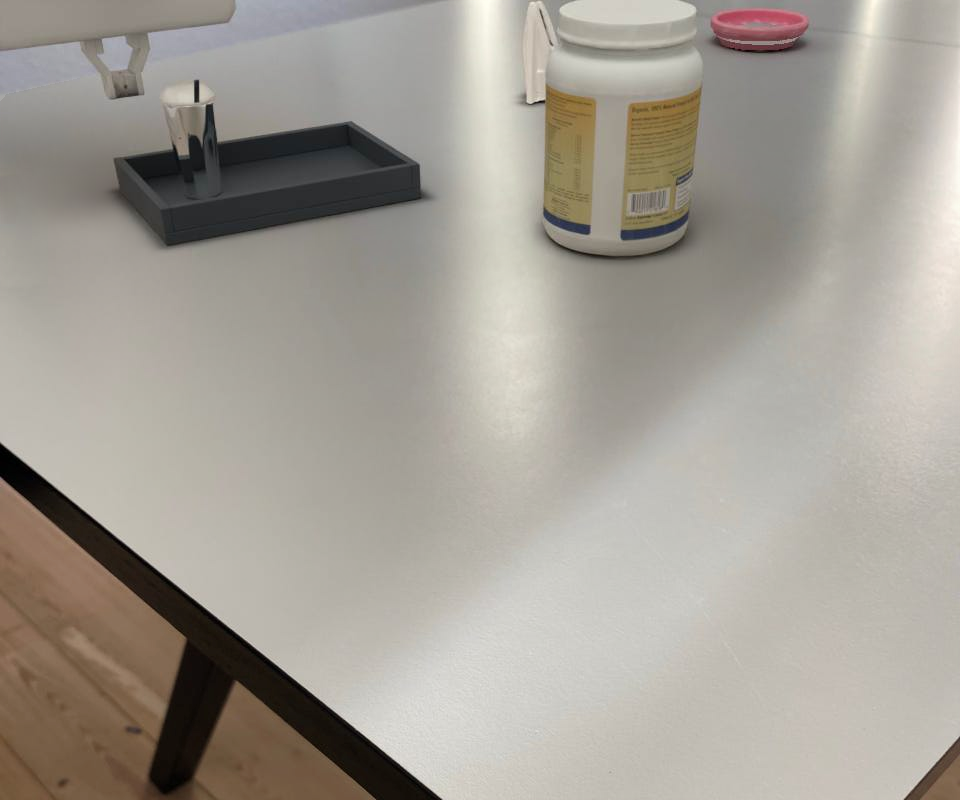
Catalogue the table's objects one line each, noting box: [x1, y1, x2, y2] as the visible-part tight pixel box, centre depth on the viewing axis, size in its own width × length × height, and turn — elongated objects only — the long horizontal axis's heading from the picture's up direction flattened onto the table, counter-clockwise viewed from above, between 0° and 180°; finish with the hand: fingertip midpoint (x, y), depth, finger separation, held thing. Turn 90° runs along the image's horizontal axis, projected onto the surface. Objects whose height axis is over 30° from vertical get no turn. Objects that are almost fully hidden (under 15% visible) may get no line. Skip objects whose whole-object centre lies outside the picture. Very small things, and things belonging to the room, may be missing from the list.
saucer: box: [710, 8, 810, 51], centre depth 145 cm, size 12×12×3 cm
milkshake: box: [159, 78, 221, 199], centre depth 97 cm, size 4×5×10 cm
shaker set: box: [522, 0, 559, 105], centre depth 125 cm, size 12×4×11 cm, turn 108°
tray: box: [112, 120, 422, 246], centre depth 102 cm, size 24×16×3 cm, turn 118°
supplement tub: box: [542, 0, 704, 257], centre depth 89 cm, size 12×12×17 cm
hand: (125, 96), depth 93 cm, fingers closed
